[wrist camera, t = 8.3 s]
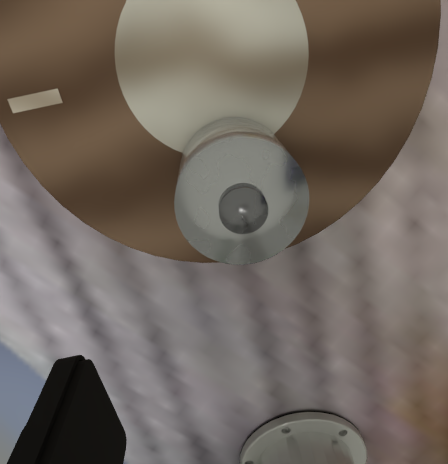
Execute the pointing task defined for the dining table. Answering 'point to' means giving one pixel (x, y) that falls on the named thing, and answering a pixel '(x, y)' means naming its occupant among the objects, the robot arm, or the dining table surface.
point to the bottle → (239, 192)
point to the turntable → (207, 97)
